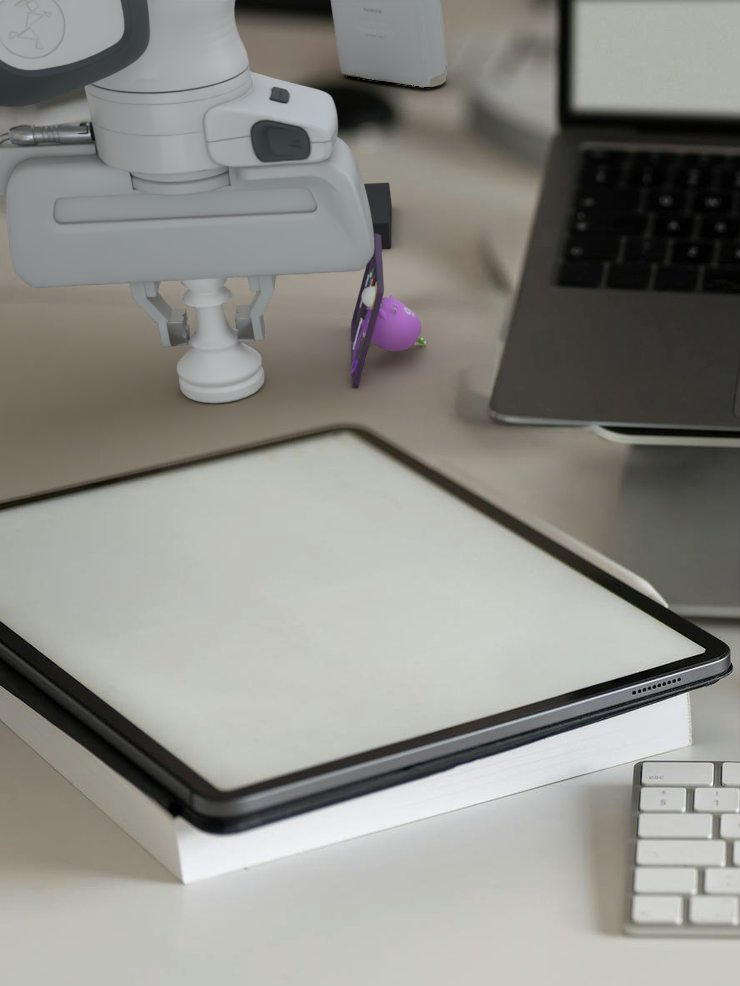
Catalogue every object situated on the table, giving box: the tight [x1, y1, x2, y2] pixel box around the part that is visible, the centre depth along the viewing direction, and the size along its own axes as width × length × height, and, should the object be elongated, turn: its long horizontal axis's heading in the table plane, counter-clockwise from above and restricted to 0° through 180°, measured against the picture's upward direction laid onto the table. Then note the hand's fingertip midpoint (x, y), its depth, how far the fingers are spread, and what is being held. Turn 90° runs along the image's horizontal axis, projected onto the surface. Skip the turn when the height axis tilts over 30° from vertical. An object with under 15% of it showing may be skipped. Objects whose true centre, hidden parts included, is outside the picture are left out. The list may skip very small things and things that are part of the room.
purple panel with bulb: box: [350, 234, 427, 387], centre depth 108 cm, size 7×5×9 cm
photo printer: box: [330, 0, 448, 88], centre depth 152 cm, size 10×4×12 cm, turn 69°
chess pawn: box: [176, 278, 266, 404], centre depth 102 cm, size 5×5×9 cm
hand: (214, 340), depth 103 cm, fingers open, 3 cm apart
